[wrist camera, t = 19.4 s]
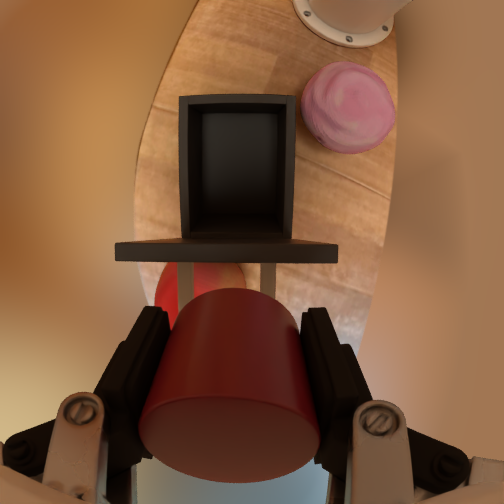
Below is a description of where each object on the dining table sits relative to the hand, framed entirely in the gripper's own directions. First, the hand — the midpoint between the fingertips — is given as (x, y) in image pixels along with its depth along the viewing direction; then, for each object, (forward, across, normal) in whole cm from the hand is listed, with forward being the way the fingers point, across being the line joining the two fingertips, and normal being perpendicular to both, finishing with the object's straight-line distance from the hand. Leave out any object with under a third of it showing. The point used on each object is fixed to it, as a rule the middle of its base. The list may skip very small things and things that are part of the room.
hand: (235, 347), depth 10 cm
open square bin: (+25, +1, -4) cm, 25 cm away
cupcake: (+25, -9, -10) cm, 29 cm away
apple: (+25, +5, +9) cm, 27 cm away
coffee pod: (0, 0, 0) cm, 0 cm away
